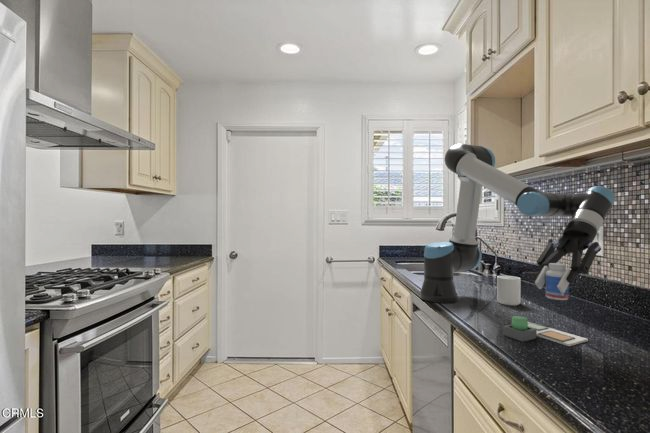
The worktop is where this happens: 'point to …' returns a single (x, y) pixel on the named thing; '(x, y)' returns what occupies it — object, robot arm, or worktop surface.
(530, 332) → the button frame
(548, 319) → the worktop surface
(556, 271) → the pill bottle
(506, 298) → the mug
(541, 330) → the white rectangular board
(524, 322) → the button
